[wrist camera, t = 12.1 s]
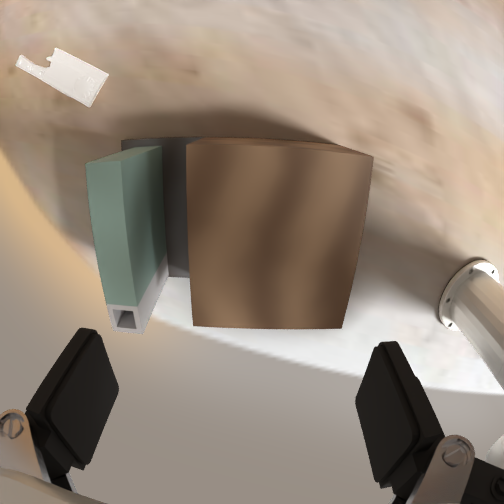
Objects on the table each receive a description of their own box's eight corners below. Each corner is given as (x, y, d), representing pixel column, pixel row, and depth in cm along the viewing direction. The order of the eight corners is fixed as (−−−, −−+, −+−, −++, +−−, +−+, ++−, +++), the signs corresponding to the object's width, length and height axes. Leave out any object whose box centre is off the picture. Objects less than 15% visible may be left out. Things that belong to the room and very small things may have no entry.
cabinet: (338, 144, 30) (373, 156, 21) (321, 277, 37) (341, 328, 28) (124, 140, 30) (79, 151, 21) (135, 270, 36) (105, 318, 27)
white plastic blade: (36, 32, 23) (32, 31, 22) (114, 70, 27) (110, 69, 26) (18, 66, 24) (13, 65, 23) (91, 108, 28) (87, 108, 27)
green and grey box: (162, 145, 29) (120, 160, 19) (168, 275, 35) (142, 334, 25) (135, 147, 29) (85, 163, 19) (145, 274, 35) (113, 330, 25)
